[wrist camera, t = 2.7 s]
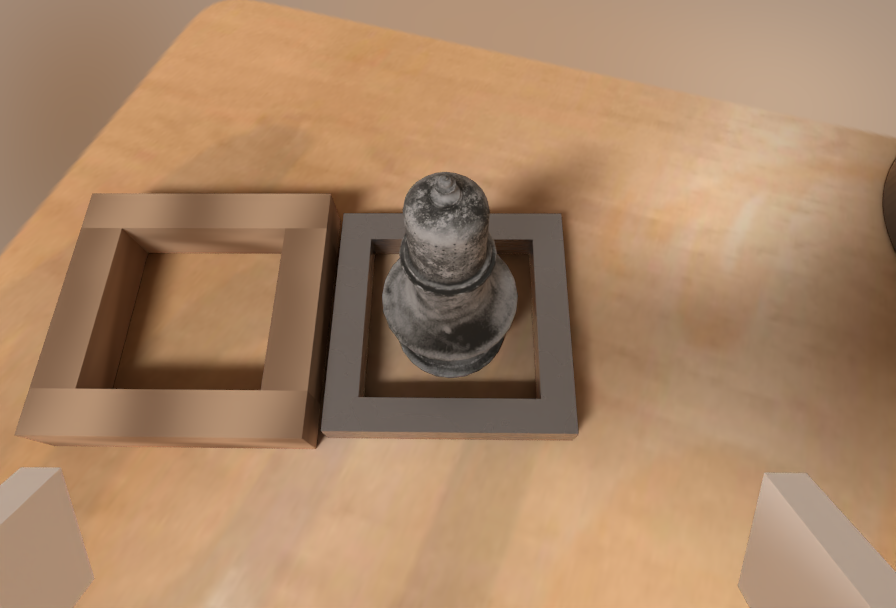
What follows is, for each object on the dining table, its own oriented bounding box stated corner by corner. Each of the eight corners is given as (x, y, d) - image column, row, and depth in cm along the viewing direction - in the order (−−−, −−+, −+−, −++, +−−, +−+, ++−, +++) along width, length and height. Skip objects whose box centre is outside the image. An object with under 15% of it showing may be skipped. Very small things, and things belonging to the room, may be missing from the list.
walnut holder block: (340, 220, 30) (330, 193, 28) (316, 448, 25) (301, 438, 23) (120, 220, 30) (92, 193, 28) (53, 445, 26) (14, 435, 23)
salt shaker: (430, 254, 29) (412, 75, 18) (531, 305, 28) (578, 146, 17) (367, 346, 27) (305, 207, 16) (473, 406, 26) (483, 300, 15)
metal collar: (556, 229, 30) (561, 213, 28) (572, 440, 25) (578, 434, 24) (349, 228, 30) (343, 213, 29) (328, 437, 26) (320, 431, 24)
